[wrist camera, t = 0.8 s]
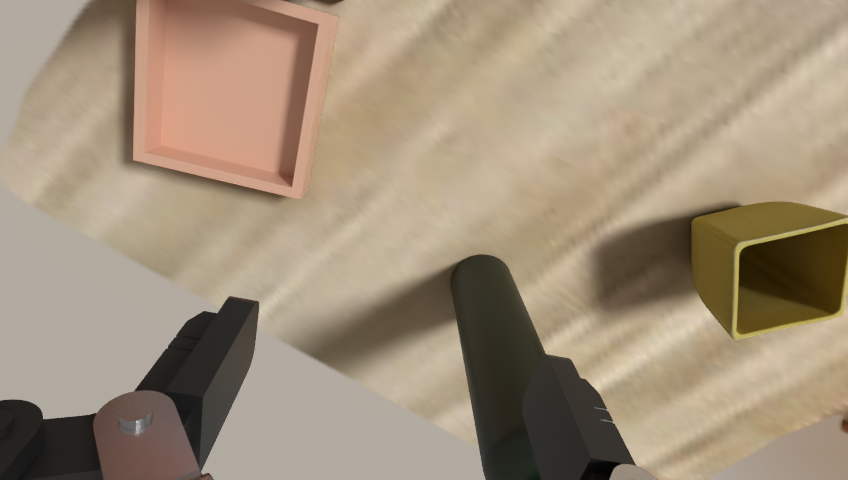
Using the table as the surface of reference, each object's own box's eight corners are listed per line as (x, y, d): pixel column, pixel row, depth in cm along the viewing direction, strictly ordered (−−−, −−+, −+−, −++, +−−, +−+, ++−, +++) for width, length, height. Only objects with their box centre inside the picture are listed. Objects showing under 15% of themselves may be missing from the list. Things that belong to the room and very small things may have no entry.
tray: (161, -36, 33) (137, -43, 30) (338, 16, 34) (332, 15, 31) (154, 149, 38) (133, 159, 35) (308, 186, 40) (300, 199, 37)
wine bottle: (502, 311, 45) (648, 731, 18) (445, 303, 45) (506, 725, 17) (517, 259, 43) (711, 649, 16) (457, 250, 43) (549, 639, 15)
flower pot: (770, 179, 41) (861, 216, 33) (764, 265, 44) (846, 317, 36) (669, 203, 42) (735, 244, 33) (672, 285, 45) (731, 342, 37)
